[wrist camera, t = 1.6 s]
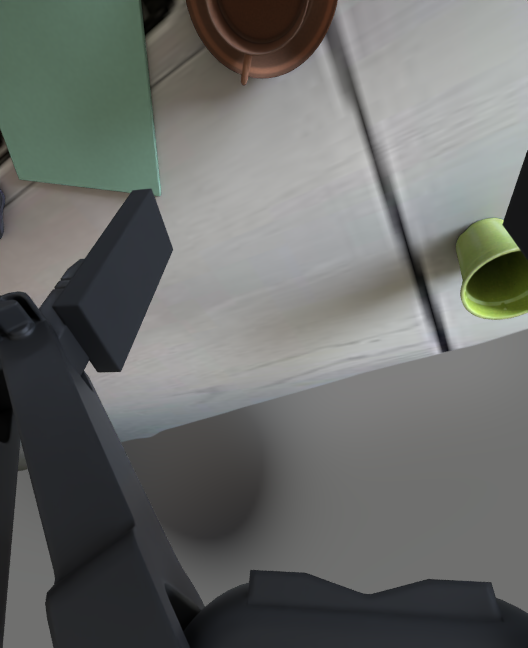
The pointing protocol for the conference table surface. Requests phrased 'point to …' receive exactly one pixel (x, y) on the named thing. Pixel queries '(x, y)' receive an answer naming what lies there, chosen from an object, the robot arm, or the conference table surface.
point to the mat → (77, 93)
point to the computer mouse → (1, 212)
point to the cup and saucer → (261, 32)
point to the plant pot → (492, 271)
